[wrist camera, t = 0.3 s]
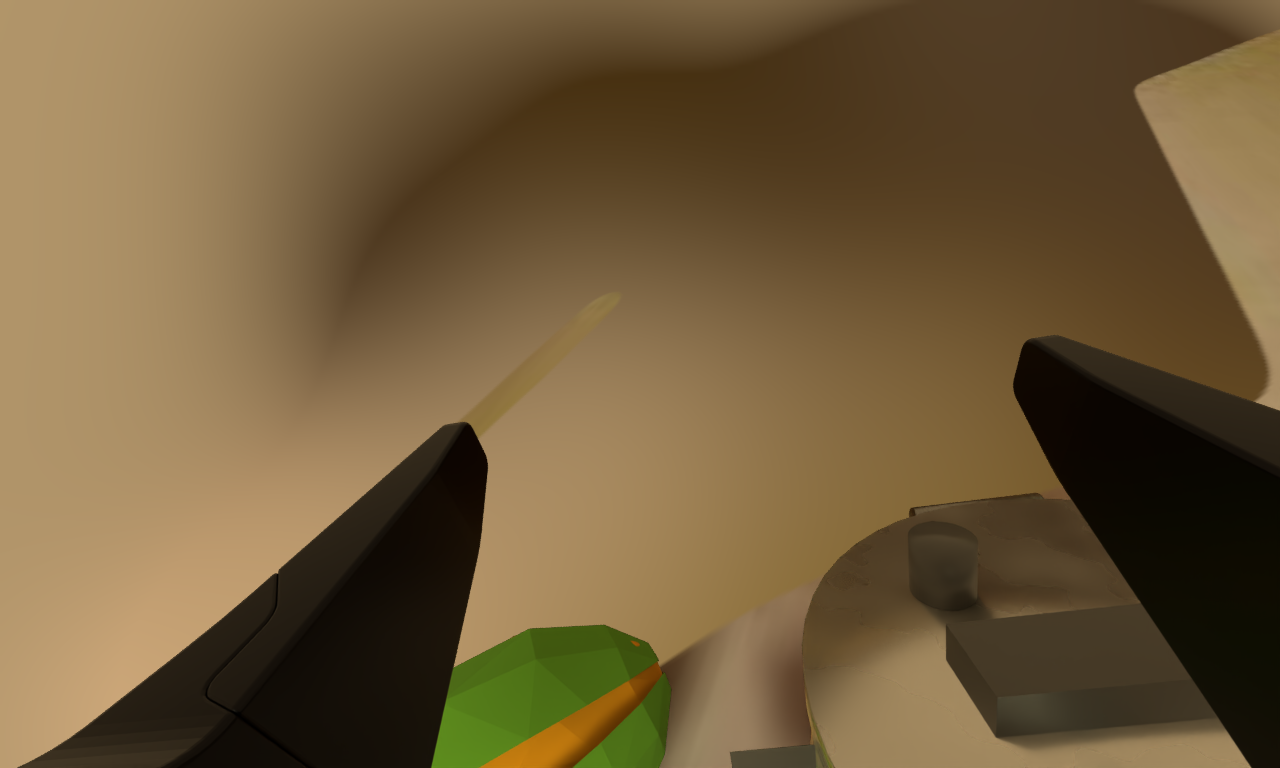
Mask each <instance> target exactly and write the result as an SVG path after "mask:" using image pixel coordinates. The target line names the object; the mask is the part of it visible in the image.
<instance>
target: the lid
mask: <svg viewBox="0 0 1280 768" xmlns="http://www.w3.org/2000/svg"><path fill="white" fill-rule="evenodd" d="M802 654H803V672H804V684H805V695H806V706H807V713H808V717H809V722H810V726H811V731H812V736H813V740H814V745H815V748H816V751H817V753H818V756H819V759H820V762H821V764H822V767H823V768H1251V767H1250V765H1249V764H1248V762H1247V761H1246V759H1245V758H1244V756H1243V755H1242V753H1241V752H1240V750H1239V749H1238V748H1237V746H1236V745H1235V743H1234V742H1233V740H1232V739H1231V737H1230V736H1229V734H1228V733H1227V731H1226V730H1225V728H1224V727H1223V725H1222V724H1221V722H1220V721H1219V719H1218V718H1217V716H1216V715H1215V713H1214V712H1213V710H1212V709H1211V707H1210V706H1209V704H1208V703H1207V701H1206V700H1205V698H1204V697H1203V695H1202V694H1201V692H1200V691H1199V689H1198V688H1197V686H1196V685H1195V683H1194V682H1193V680H1192V679H1191V677H1190V676H1189V674H1188V673H1187V671H1186V670H1185V668H1184V667H1183V665H1182V664H1181V662H1180V661H1179V659H1178V658H1177V656H1176V655H1175V653H1174V652H1173V650H1172V649H1171V647H1170V646H1169V644H1168V643H1167V642H1166V640H1165V639H1164V637H1163V636H1162V634H1161V633H1160V631H1159V630H1158V628H1157V627H1156V625H1155V624H1154V622H1153V621H1152V619H1151V618H1150V616H1149V615H1148V613H1147V612H1146V610H1145V609H1144V607H1143V606H1142V604H1141V603H1140V601H1139V600H1138V598H1137V597H1136V595H1135V594H1134V592H1133V591H1132V589H1131V588H1130V586H1129V585H1128V583H1127V582H1126V580H1125V579H1124V577H1123V576H1122V574H1121V573H1120V571H1119V570H1118V568H1117V567H1116V565H1115V564H1114V562H1113V561H1112V559H1111V558H1110V556H1109V555H1108V553H1107V552H1106V550H1105V549H1104V547H1103V546H1102V544H1101V543H1100V541H1099V540H1098V538H1097V537H1096V535H1095V534H1094V533H1093V531H1092V530H1091V528H1090V527H1089V525H1088V524H1087V522H1086V521H1085V519H1084V518H1083V516H1082V515H1081V513H1080V512H1079V510H1078V509H1077V507H1076V506H1075V504H1074V503H1073V501H1072V500H1062V499H1044V498H1043V497H1042V496H1041V495H1040V494H1038V493H1030V494H1022V495H1014V496H1006V497H998V498H989V499H981V500H972V501H964V502H955V503H947V504H939V505H930V506H922V507H914V508H911V509H910V511H909V518H906V519H903V520H900V521H897V522H895V523H893V524H891V525H889V526H887V527H885V528H882V529H880V530H878V531H876V532H874V533H873V534H871V535H869V536H868V537H866V538H865V539H863V540H862V541H860V542H858V543H857V544H855V545H854V546H853V547H852V548H851V549H850V550H848V551H847V552H846V553H845V554H844V555H842V556H841V557H840V558H839V559H838V560H837V561H836V563H835V564H834V565H833V566H832V567H831V568H830V570H829V571H828V572H827V573H826V574H825V575H824V577H823V579H822V581H821V582H820V584H819V586H818V588H817V589H816V591H815V593H814V595H813V597H812V600H811V603H810V606H809V609H808V612H807V615H806V618H805V625H804V633H803V641H802Z"/></svg>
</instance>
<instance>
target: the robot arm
mask: <svg viewBox="0 0 1280 768" xmlns="http://www.w3.org/2000/svg"><path fill="white" fill-rule="evenodd" d="M1013 388H1014V394H1015V397H1016V399H1017V401H1018V403H1019V405H1020V407H1021V409H1022V411H1023V412H1024V415H1025V417H1026V419H1027V420H1028V423H1029V425H1030V426H1031V428H1032V430H1033V432H1034V434H1035V436H1036V438H1037V440H1038V442H1039V444H1040V446H1041V448H1042V450H1043V452H1044V454H1045V456H1046V458H1047V460H1048V462H1049V464H1050V466H1051V467H1052V469H1053V471H1054V473H1055V475H1056V476H1057V478H1058V480H1059V481H1060V483H1061V484H1062V486H1063V488H1064V489H1065V491H1066V492H1067V494H1068V495H1069V497H1070V498H1071V500H1072V501H1073V503H1074V504H1075V506H1076V507H1077V509H1078V510H1079V512H1080V513H1081V515H1082V516H1083V518H1084V519H1085V521H1086V522H1087V524H1088V525H1089V527H1090V528H1091V530H1092V531H1093V533H1094V534H1095V535H1096V537H1097V538H1098V540H1099V541H1100V543H1101V544H1102V546H1103V547H1104V549H1105V550H1106V552H1107V553H1108V555H1109V556H1110V558H1111V559H1112V561H1113V562H1114V564H1115V565H1116V567H1117V568H1118V570H1119V571H1120V573H1121V574H1122V576H1123V577H1124V579H1125V580H1126V582H1127V583H1128V585H1129V586H1130V588H1131V589H1132V591H1133V592H1134V594H1135V595H1136V597H1137V598H1138V600H1139V601H1140V603H1141V604H1142V606H1143V607H1144V609H1145V610H1146V612H1147V613H1148V615H1149V616H1150V618H1151V619H1152V621H1153V622H1154V624H1155V625H1156V627H1157V628H1158V630H1159V631H1160V633H1161V634H1162V636H1163V637H1164V639H1165V640H1166V642H1167V643H1168V644H1169V646H1170V647H1171V649H1172V650H1173V652H1174V653H1175V655H1176V656H1177V658H1178V659H1179V661H1180V662H1181V664H1182V665H1183V667H1184V668H1185V670H1186V671H1187V673H1188V674H1189V676H1190V677H1191V679H1192V680H1193V682H1194V683H1195V685H1196V686H1197V688H1198V689H1199V691H1200V692H1201V694H1202V695H1203V697H1204V698H1205V700H1206V701H1207V703H1208V704H1209V706H1210V707H1211V709H1212V710H1213V712H1214V713H1215V715H1216V716H1217V718H1218V719H1219V721H1220V722H1221V724H1222V725H1223V727H1224V728H1225V730H1226V731H1227V733H1228V734H1229V736H1230V737H1231V739H1232V740H1233V742H1234V743H1235V745H1236V746H1237V748H1238V749H1239V750H1240V752H1241V753H1242V755H1243V756H1244V758H1245V759H1246V761H1247V762H1248V764H1249V765H1250V767H1251V768H1280V411H1279V410H1276V409H1273V408H1270V407H1267V406H1265V405H1262V404H1259V403H1256V402H1253V401H1250V400H1247V399H1244V398H1241V397H1238V396H1235V395H1232V394H1229V393H1226V392H1223V391H1220V390H1217V389H1214V388H1211V387H1209V386H1206V385H1203V384H1200V383H1197V382H1194V381H1191V380H1188V379H1185V378H1182V377H1179V376H1176V375H1173V374H1170V373H1168V372H1165V371H1161V370H1159V369H1156V368H1153V367H1150V366H1147V365H1144V364H1141V363H1138V362H1135V361H1132V360H1129V359H1126V358H1123V357H1121V356H1118V355H1115V354H1112V353H1109V352H1106V351H1103V350H1100V349H1097V348H1094V347H1091V346H1088V345H1085V344H1082V343H1079V342H1077V341H1074V340H1070V339H1068V338H1065V337H1062V336H1058V335H1052V336H1046V337H1038V338H1032V339H1029V340H1027V341H1026V342H1025V343H1024V345H1023V347H1022V349H1021V353H1020V357H1019V361H1018V365H1017V370H1016V373H1015V377H1014V382H1013ZM487 473H488V463H487V457H486V455H485V453H484V450H483V448H482V446H481V444H480V442H479V440H478V438H477V436H476V434H475V432H474V430H473V428H472V426H471V425H470V424H469V423H467V422H460V423H453V424H447V425H444V426H442V427H441V428H440V429H439V430H438V431H437V432H436V433H434V434H433V435H432V436H431V437H430V438H429V439H427V440H426V441H425V442H424V443H423V444H422V445H421V446H420V447H418V448H417V450H415V451H414V452H413V453H412V454H410V455H409V456H408V457H407V458H406V459H405V460H403V461H402V462H401V463H400V464H399V465H398V466H397V467H396V468H395V469H393V470H392V471H391V472H390V473H389V474H388V475H386V476H385V477H384V478H383V479H382V480H381V481H380V482H378V483H377V484H376V485H375V486H374V487H373V488H372V489H370V490H369V491H368V492H367V493H366V494H365V495H364V496H362V497H361V498H360V499H359V500H358V501H357V502H356V503H355V504H353V505H352V506H351V507H350V508H349V509H348V510H346V511H345V512H344V513H343V514H342V515H341V516H340V517H339V518H337V519H336V520H335V521H334V522H333V523H332V524H330V525H329V526H328V527H327V528H326V529H325V530H324V531H323V532H321V533H320V534H319V535H318V536H317V537H316V538H315V539H313V540H312V541H311V542H310V543H309V544H308V545H307V546H305V547H304V548H303V549H302V550H301V551H300V552H298V553H297V554H296V555H295V556H294V557H293V558H292V559H291V560H289V561H288V562H287V563H286V564H285V565H284V566H282V567H281V568H280V569H279V571H278V574H277V573H275V574H273V575H272V576H271V577H270V578H269V579H268V580H266V581H265V582H264V583H263V584H262V585H261V586H260V587H258V588H257V589H256V590H255V591H254V592H253V593H252V594H250V595H249V596H248V597H247V598H246V599H245V600H243V601H242V602H241V603H240V604H239V605H237V606H236V607H235V608H234V609H233V610H232V611H230V612H229V613H228V614H227V615H226V616H225V617H224V618H222V619H221V620H220V621H219V622H217V623H216V624H215V625H214V626H212V627H211V628H210V629H209V630H207V631H206V632H205V633H204V634H202V635H201V636H200V637H199V638H197V639H196V640H195V641H194V642H192V643H191V644H190V645H189V646H187V647H186V648H185V649H184V650H182V651H181V652H180V653H179V654H177V655H176V656H175V657H173V658H172V659H171V660H170V661H168V662H167V663H166V664H165V665H163V666H162V667H161V668H159V669H158V670H157V671H156V672H154V673H153V674H152V675H151V676H149V677H148V678H147V679H146V680H144V681H143V682H142V683H140V684H139V685H138V686H137V687H135V688H134V689H133V690H132V691H130V692H129V693H128V694H126V695H125V696H124V697H123V698H121V699H120V700H119V701H117V702H116V703H115V704H114V705H112V706H111V707H110V708H109V709H107V710H106V711H105V712H103V713H102V714H101V715H100V716H98V717H97V718H96V719H94V720H93V721H92V722H91V723H89V724H88V725H87V726H86V727H84V728H83V729H82V730H80V731H79V732H77V733H76V734H75V735H73V736H72V737H71V738H69V739H68V740H66V741H64V742H63V743H61V744H60V745H58V746H57V747H55V748H53V749H52V750H50V751H48V752H47V753H45V754H43V755H41V756H40V757H38V758H36V759H34V760H32V761H30V762H28V763H26V764H24V765H22V766H20V767H18V768H431V767H432V763H433V758H434V754H435V749H436V744H437V740H438V735H439V731H440V726H441V722H442V717H443V713H444V708H445V704H446V699H447V694H448V690H449V685H450V681H451V676H452V672H453V667H454V663H455V658H456V654H457V649H458V644H459V640H460V635H461V631H462V626H463V622H464V617H465V613H466V608H467V603H468V599H469V594H470V590H471V585H472V580H473V576H474V572H475V567H476V563H477V558H478V553H479V547H480V541H481V540H480V539H481V533H482V523H483V513H484V503H485V493H486V483H487Z"/></svg>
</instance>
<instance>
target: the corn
mask: <svg viewBox="0 0 1280 768" xmlns="http://www.w3.org/2000/svg"><path fill="white" fill-rule="evenodd" d="M658 661H659V660H658V658H657V656H656V654H655V653H654V651H653V649H652V648H651V646H650V645H649V643H647V642H645V641H643V640H640V639H638V638H635V637H633V636H630V635H628V634H626V633H623V632H620V631H618V630H616V629H613V628H611V627H608V626H606V625H592V626H572V627H552V628H532V629H528V630H526V631H524V632H522V633H520V634H518V635H516V636H513V637H512V638H510V639H508V640H506V641H504V642H503V643H500V644H498V645H496V646H495V647H493V648H491V649H489V650H487V651H485V652H483V653H481V654H479V655H477V656H475V657H473V658H471V659H469V660H467V661H465V662H464V663H462V664H460V665H458V666H456V667H454V668H453V672H452V676H451V681H450V685H449V690H448V694H447V699H446V704H445V708H444V713H443V717H442V722H441V726H440V731H439V735H438V740H437V744H436V749H435V754H434V758H433V763H432V767H431V768H659V767H660V764H661V762H662V759H663V757H664V754H665V747H666V737H667V727H668V717H669V707H670V698H671V687H670V684H669V682H668V679H667V677H666V674H665V672H664V673H663V672H661V670H660V667H659V665H658Z"/></svg>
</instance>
